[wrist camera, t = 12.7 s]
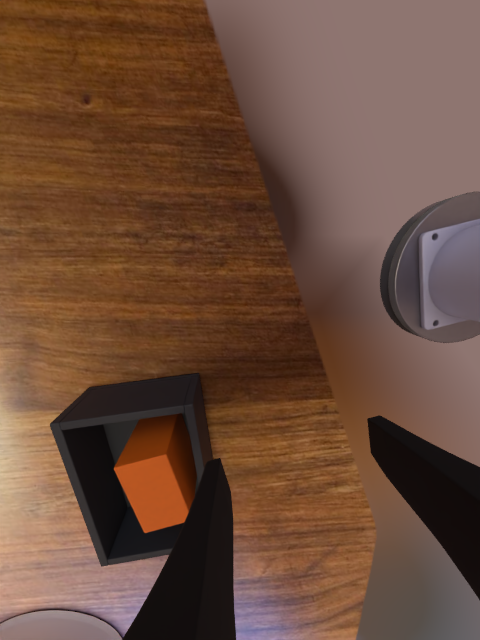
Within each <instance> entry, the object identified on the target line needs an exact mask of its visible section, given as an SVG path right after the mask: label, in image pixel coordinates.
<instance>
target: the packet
mask: <svg viewBox="0 0 480 640" xmlns="http://www.w3.org/2000/svg"><path fill="white" fill-rule="evenodd" d="M114 471H115V473H116V475H117V477H118V479H119V481H120V483H121V485H122V487H123V489H124V491H125V494H126V496H127V498H128V500H129V502H130V504H131V506H132V508H133V510H134V512H135V514H136V517H137V519H138V521H139V523H140V525H141V527H142V529H143V531H144V533H148V532H151V531H155V530H159V529H162V528H166V527H170V526H173V525H177V524H181V523H184V522H185V520H186V517H187V515H188V512H189V510H190V507H191V505H192V502H193V499H194V497H195V488H196V479H197V472H196V467H195V462H194V456H193V451H192V445H191V440H190V436H189V433H188V430H187V428H186V425H185V422H184V419H183V416H182V413H180V414H173V415H166V416H159V417H152V418H145V419H139V421H138V423H137V425H136V427H135V428H134V430H133V432H132V434H131V436H130V438H129V440H128V442H127V444H126V446H125V448H124V449H123V451H122V453H121V455H120V457H119V459H118V461H117V463H116V465H115V467H114Z"/></svg>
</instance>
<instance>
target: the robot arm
mask: <svg viewBox="0 0 480 640" xmlns="http://www.w3.org/2000/svg"><path fill="white" fill-rule="evenodd" d="M432 235H433V239H432ZM418 242H419V277H420V312H421V327H422V328H423V329H426V330H431V329H435V328H439V327H443V326H447V325H451V324H455V323H458V322H462V321H466V320H472V321H477V322H480V219H477V220H472V221H468V222H464V223H460V224H456V225H452V226H448V227H444V228H440V229H436V230H432V231H428V232H424V233H422V234H421V235H420V237H419V240H418ZM433 322H434V323H433ZM368 427H369V438H370V448H371V454H372V455H373V457H374V458H375V460H376V462H377V463H378V465H379V466H380V468H381V469H382V471H383V472H384V474H385V475H386V477H387V478H388V479H389V480H390V482H391V483H392V484H393V485H394V487H395V488H396V489H397V490H398V492H399V493H400V494H401V495H402V497H403V498H404V499H405V500H406V502H407V503H408V504H409V505H410V506H411V508H412V509H413V510H414V511H415V513H416V514H417V515H418V516H419V518H421V520H422V521H423V522H424V524H425V525H426V526H427V527H428V529H429V530H430V531H431V532H432V534H433V535H434V536H435V537H436V539H437V540H438V541H439V543H440V544H441V545H442V546H443V548H444V549H445V551H446V552H447V554H448V555H449V556H450V558H451V559H452V561H453V562H454V563H455V565H456V566H457V568H458V569H459V571H460V572H461V573H462V575H463V576H464V578H465V579H466V581H467V582H468V583H469V585H470V586H471V588H472V589H473V591H474V592H475V594H476V595H477V596H478V598H479V600H480V467H478V466H476V465H474V464H472V463H470V462H468V461H465V460H463V459H461V458H459V457H457V456H455V455H453V454H451V453H449V452H447V451H445V450H443V449H441V448H439V447H437V446H435V445H433V444H431V443H429V442H427V441H426V440H424V439H422V438H420V437H418V436H416V435H414V434H413V433H411V432H409V431H407V430H405V429H404V428H402V427H400V426H398V425H396V424H395V423H393V422H391V421H389V420H387V419H385V418H383V417H382V416H376V417H372V418H368ZM122 640H236V630H235V615H234V593H233V511H232V500H231V491H230V488H229V484H228V481H227V478H226V475H225V472H224V469H223V466H222V463H221V459H220V458H218V459H214V460H211V461H207V463H206V464H205V468H204V471H203V474H202V477H201V480H200V483H199V486H198V489H197V492H196V494H195V497H194V499H193V502H192V505H191V507H190V510H189V512H188V515H187V517H186V520H185V522H184V524H183V526H182V529H181V531H180V533H179V536H178V538H177V540H176V542H175V544H174V547H173V549H172V551H171V553H170V555H169V557H168V559H167V561H166V563H165V565H164V567H163V569H162V571H161V573H160V575H159V577H158V579H157V580H156V582H155V584H154V586H153V588H152V590H151V591H150V593H149V595H148V597H147V599H146V601H145V602H144V604H143V606H142V608H141V609H140V611H139V613H138V614H137V616H136V618H135V620H134V621H133V623H132V624H131V626H130V628H129V629H128V631H127V633H126V634H125V636H124V637H123V639H122Z"/></svg>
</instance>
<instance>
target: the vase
mask: <svg viewBox="0 0 480 640" xmlns="http://www.w3.org/2000/svg"><path fill="white" fill-rule="evenodd" d="M0 640H122V638H121V636H120V635H119V634H118V632H117V631H116V630H115V629H114V628H112V627H111V626H110V625H108V624H107V623H105V622H104V621H102V620H100V619H98V618H95V617H93V616H89V615H86V614H82V613H78V612H72V611H60V610H48V611H38V612H32V613H27V614H23V615H20V616H17V617H14V618H12V619H9V620H7V621H5V622H3V623H2V624H0Z"/></svg>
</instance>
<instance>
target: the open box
mask: <svg viewBox="0 0 480 640" xmlns="http://www.w3.org/2000/svg"><path fill="white" fill-rule="evenodd" d="M180 413H182V416H183V419H184V422H185V425H186V428H187V430H188V433H189V436H190V440H191V445H192V451H193V456H194V462H195V467H196V472H197V479H196V488H195V494H196V492H197V489H198V486H199V483H200V480H201V477H202V474H203V471H204V468H205V464H206V463H207V461H211V460H213V457H212V451H211V444H210V438H209V432H208V426H207V419H206V413H205V407H204V401H203V395H202V388H201V382H200V376H199V373H195V374H188V375H180V376H173V377H165V378H158V379H150V380H142V381H135V382H127V383H120V384H112V385H104V386H97V387H89V388H88V389H87V390H86V391H85V392H84V393H83V394H82V395H81V396H79V397H78V398H77V399H76V400H75V401H74V402H73V403H72V404H71V405H70V406H69V407H68V408H67V409H65V410H64V411H63V412H62V413H61V414H60V415H59V416H58V417H57V418H56V419H55V420H54V421H53V422H52V423H50V427H51V430H52V432H53V435H54V438H55V441H56V443H57V446H58V449H59V452H60V454H61V457H62V460H63V463H64V465H65V468H66V471H67V474H68V476H69V479H70V482H71V485H72V487H73V490H74V493H75V496H76V498H77V501H78V504H79V507H80V509H81V512H82V515H83V518H84V520H85V523H86V526H87V529H88V531H89V534H90V537H91V540H92V542H93V545H94V548H95V551H96V553H97V556H98V559H99V562H100V564H101V566H107V565H113V564H118V563H124V562H130V561H135V560H141V559H147V558H152V557H158V556H163V555H169V554H170V553H171V551H172V549H173V547H174V544H175V542H176V540H177V538H178V536H179V533H180V531H181V529H182V526H183V524H184V523H181V524H177V525H173V526H170V527H166V528H162V529H159V530H155V531H151V532H148V533H144V531H143V529H142V527H141V525H140V523H139V521H138V519H137V517H136V514H135V512H134V510H133V508H132V506H131V504H130V502H129V500H128V498H127V496H126V494H125V491H124V489H123V487H122V485H121V483H120V481H119V479H118V477H117V475H116V473H115V471H114V467H115V465H116V463H117V461H118V459H119V457H120V455H121V453H122V451H123V449H124V448H125V446H126V444H127V442H128V440H129V438H130V436H131V434H132V432H133V430H134V428H135V427H136V425H137V423H138V421H139V419H145V418H152V417H159V416H166V415H173V414H180Z"/></svg>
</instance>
